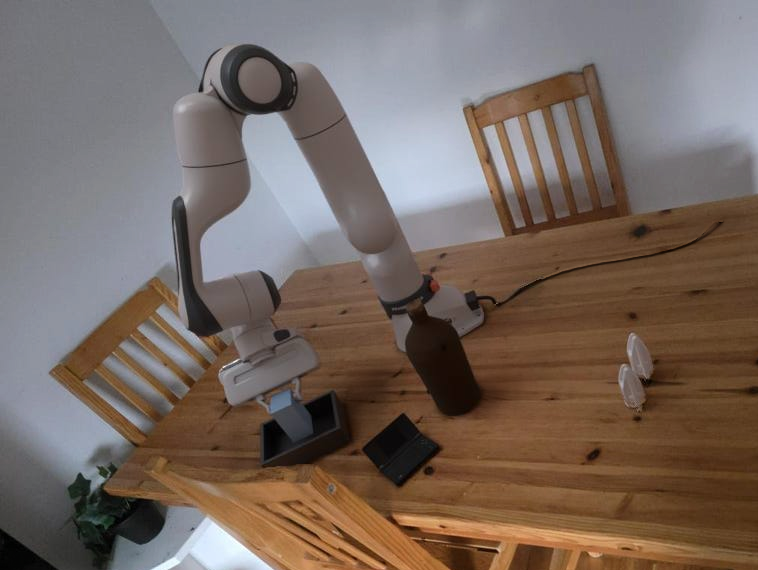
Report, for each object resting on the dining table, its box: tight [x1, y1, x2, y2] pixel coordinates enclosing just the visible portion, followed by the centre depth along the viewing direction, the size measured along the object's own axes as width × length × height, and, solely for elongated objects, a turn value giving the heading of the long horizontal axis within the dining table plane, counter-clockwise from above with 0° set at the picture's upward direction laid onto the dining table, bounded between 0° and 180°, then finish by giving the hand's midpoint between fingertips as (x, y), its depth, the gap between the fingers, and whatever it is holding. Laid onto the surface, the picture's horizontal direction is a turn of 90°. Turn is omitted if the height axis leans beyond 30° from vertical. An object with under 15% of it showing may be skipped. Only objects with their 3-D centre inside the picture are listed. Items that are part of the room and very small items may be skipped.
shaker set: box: [617, 332, 654, 413], centre depth 107 cm, size 12×4×11 cm, turn 155°
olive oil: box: [405, 299, 481, 417], centre depth 116 cm, size 11×11×25 cm
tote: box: [259, 389, 351, 469], centre depth 128 cm, size 18×14×5 cm
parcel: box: [269, 387, 313, 442], centre depth 124 cm, size 4×6×9 cm
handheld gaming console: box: [361, 412, 440, 487], centre depth 114 cm, size 12×7×10 cm
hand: (286, 407), depth 123 cm, fingers closed on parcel, 4 cm apart
